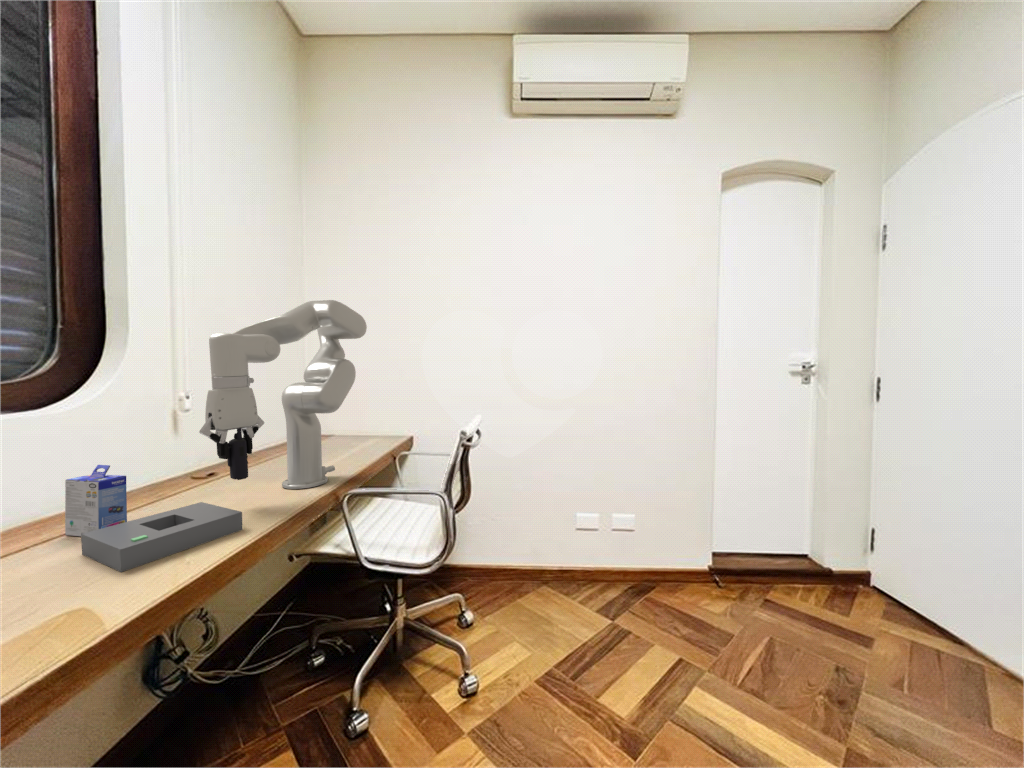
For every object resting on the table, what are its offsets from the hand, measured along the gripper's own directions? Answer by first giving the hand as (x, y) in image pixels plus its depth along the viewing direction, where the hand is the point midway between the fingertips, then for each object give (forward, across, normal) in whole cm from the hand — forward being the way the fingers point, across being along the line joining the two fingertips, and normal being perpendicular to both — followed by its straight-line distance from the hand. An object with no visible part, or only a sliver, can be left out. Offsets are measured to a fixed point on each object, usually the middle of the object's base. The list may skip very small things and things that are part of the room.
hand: (235, 455), depth 97 cm
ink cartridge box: (+14, +21, -14) cm, 29 cm away
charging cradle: (+13, +17, +6) cm, 23 cm away
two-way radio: (+6, 0, 0) cm, 6 cm away
